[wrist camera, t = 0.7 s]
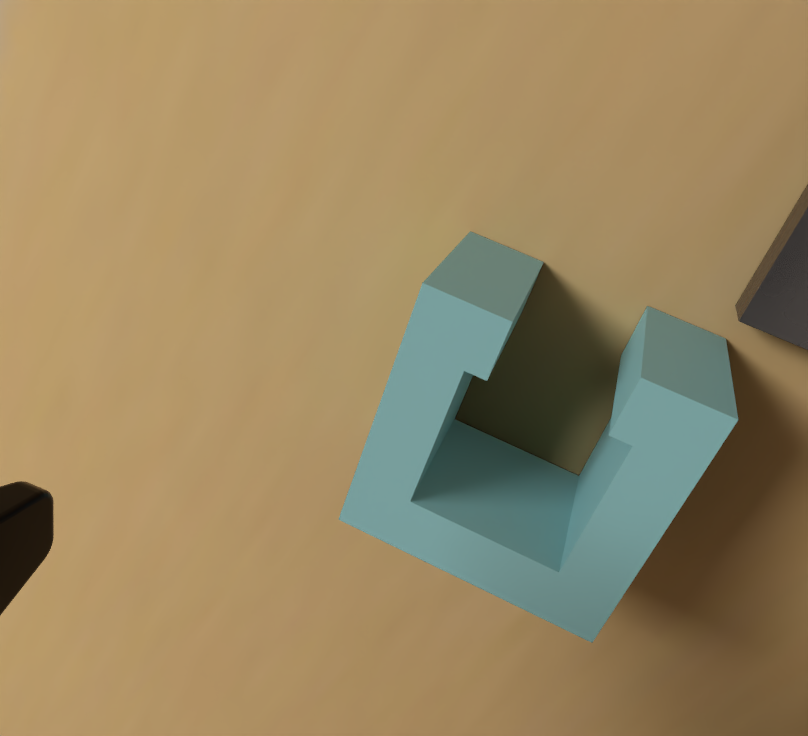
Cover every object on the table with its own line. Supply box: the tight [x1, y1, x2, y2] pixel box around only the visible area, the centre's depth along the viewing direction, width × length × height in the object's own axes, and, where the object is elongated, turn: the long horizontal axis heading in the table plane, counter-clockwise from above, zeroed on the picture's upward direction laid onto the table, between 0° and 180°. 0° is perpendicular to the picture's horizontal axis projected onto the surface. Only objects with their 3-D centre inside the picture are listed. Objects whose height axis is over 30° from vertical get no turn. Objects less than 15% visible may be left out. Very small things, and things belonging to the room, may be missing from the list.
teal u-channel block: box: [339, 231, 738, 642], centre depth 18 cm, size 6×6×4 cm
